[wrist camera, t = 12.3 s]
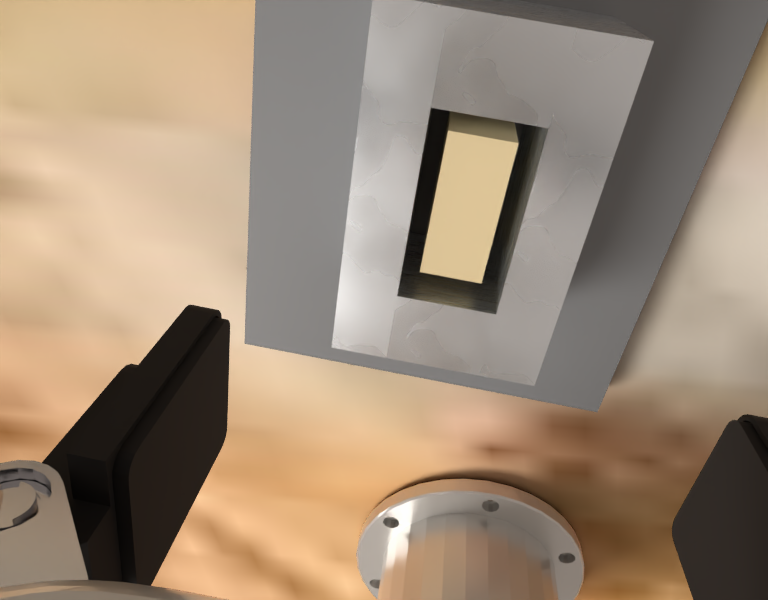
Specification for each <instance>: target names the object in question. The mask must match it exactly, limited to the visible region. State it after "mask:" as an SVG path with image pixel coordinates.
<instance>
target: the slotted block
mask: <svg viewBox="0 0 768 600" xmlns="http://www.w3.org/2000/svg"><path fill="white" fill-rule="evenodd" d="M653 43H654V41H653V40H651V39H650V38H648V37H647V36H645V35H643V34H642V33H640V32H639V31H637V30H635V29H634V28H632V27H630V26H629V25H627V24H626V23H624V22H622V21H621V20H619V19H618V18H616V17H614V16H608V15H602V14H596V13H590V12H584V11H578V10H572V9H566V8H560V7H554V6H549V5H543V4H537V3H531V2H525V1H519V0H372V9H371V17H370V26H369V34H368V43H367V51H366V59H365V68H364V76H363V85H362V93H361V102H360V110H359V119H358V127H357V136H356V144H355V153H354V161H353V169H352V178H351V186H350V195H349V203H348V212H347V220H346V229H345V237H344V246H343V254H342V263H341V271H340V279H339V288H338V296H337V305H336V313H335V322H334V330H333V339H332V347H331V348H336V349H341V350H347V351H352V352H357V353H362V354H368V355H373V356H378V357H384V358H389V359H394V360H399V361H405V362H410V363H415V364H420V365H426V366H431V367H436V368H441V369H447V370H452V371H457V372H463V373H468V374H473V375H478V376H484V377H489V378H494V379H499V380H505V381H510V382H515V383H520V384H526V385H531V386H535V383H536V380H537V377H538V374H539V371H540V369H541V366H542V363H543V360H544V357H545V354H546V351H547V348H548V346H549V343H550V340H551V337H552V334H553V331H554V328H555V325H556V322H557V320H558V317H559V314H560V311H561V308H562V305H563V302H564V299H565V297H566V294H567V291H568V288H569V285H570V282H571V279H572V276H573V274H574V271H575V268H576V265H577V262H578V259H579V256H580V253H581V250H582V248H583V245H584V242H585V239H586V236H587V233H588V230H589V227H590V225H591V222H592V219H593V216H594V213H595V210H596V207H597V204H598V201H599V199H600V196H601V193H602V190H603V187H604V184H605V181H606V178H607V176H608V173H609V170H610V167H611V164H612V161H613V158H614V155H615V152H616V150H617V147H618V144H619V141H620V138H621V135H622V132H623V129H624V127H625V124H626V121H627V118H628V115H629V112H630V109H631V106H632V104H633V101H634V98H635V95H636V92H637V89H638V86H639V83H640V80H641V78H642V75H643V72H644V69H645V66H646V63H647V60H648V57H649V55H650V52H651V49H652V46H653ZM433 108H436V109H441V110H447V111H453V112H458V113H464V114H470V115H475V116H481V117H487V118H493V119H498V120H504V121H510V122H515V123H521V124H524V126H523V130H522V134H521V137H520V141H519V145H518V149H517V153H516V157H515V160H514V164H513V168H512V172H511V176H510V180H509V184H508V187H507V191H506V195H505V199H504V203H503V207H502V210H501V214H500V218H499V222H498V226H497V230H496V233H495V237H494V241H493V245H492V246H491V250H490V253H489V257H488V261H487V265H486V268H485V272H484V276H483V280H482V284H481V283H476V282H470V281H465V280H460V279H454V278H449V277H444V276H439V275H433V274H428V273H423V272H420V267H421V261H422V255H423V249H424V242H425V236H426V234H424V233H418V232H413V231H411V227H412V222H413V216H414V210H415V205H416V199H417V194H418V188H419V183H420V177H421V172H422V166H423V160H424V155H425V149H426V144H427V138H428V133H429V127H430V122H431V116H432V110H433Z"/></svg>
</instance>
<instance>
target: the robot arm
mask: <svg viewBox="0 0 768 600" xmlns="http://www.w3.org/2000/svg"><path fill="white" fill-rule="evenodd" d="M229 343H230V323H229V321H228V320H226V319H221V313H220V311H219V310H215V309H210V308H205V307H200V306H195V305H188V306H187V307H186V308H185V309H184V310H183V311H182V313H181V314H180V315H179V316H178V318H177V319H176V320H175V321H174V322H173V324H172V325H171V326H170V327H169V329H168V330H167V331H166V332H165V333H164V335H163V336H162V337H161V338H160V340H159V341H158V342H157V343H156V344H155V346H154V347H153V348H152V349H151V350H150V352H149V353H148V354H147V355H146V357H145V358H144V359H143V360H142V361H141V363H140V364H139V365H134V364H129V365H126V366H125V367H124V368H123V369H122V370H121V371H120V372H119V373H118V374H117V375H116V377H115V378H114V379H113V380H112V381H111V382H110V384H109V385H108V386H107V387H106V388H105V389H104V391H103V392H102V393H101V394H100V395H99V397H98V398H97V399H96V400H95V401H94V402H93V404H92V405H91V406H90V407H89V408H88V409H87V411H86V412H85V413H84V414H83V415H82V416H81V418H80V419H79V420H78V421H77V422H76V423H75V425H74V426H73V427H72V428H71V429H70V431H69V432H68V433H67V434H66V435H65V436H64V438H63V439H62V440H61V441H60V442H59V443H58V445H57V446H56V447H55V448H54V449H53V450H52V452H51V453H50V454H49V455H48V456H47V457H46V459H45V460H44V461H43V462H42V463H40V462H36V461H25V460H16V461H11V462H5V463H0V600H227V599H222V598H217V597H212V596H206V595H201V594H196V593H191V592H185V591H180V590H175V589H169V588H162V587H155V586H151V584H152V582H153V580H154V579H155V577H156V575H157V573H158V571H159V569H160V567H161V565H162V563H163V561H164V559H165V557H166V555H167V553H168V551H169V549H170V547H171V545H172V543H173V542H174V540H175V538H176V536H177V534H178V532H179V530H180V528H181V526H182V524H183V522H184V520H185V518H186V516H187V514H188V512H189V510H190V508H191V506H192V505H193V503H194V501H195V499H196V497H197V495H198V493H199V491H200V489H201V487H202V485H203V483H204V481H205V479H206V477H207V475H208V473H209V471H210V469H211V468H212V466H213V464H214V462H215V460H216V458H217V456H218V454H219V452H220V450H221V448H222V446H223V443H224V440H225V437H226V432H227V413H228V378H229ZM672 537H673V541H674V544H675V547H676V550H677V553H678V556H679V559H680V561H681V564H682V567H683V570H684V573H685V576H686V579H687V582H688V585H689V588H690V591H691V594H692V597H693V600H768V418H763V417H758V416H753V415H748V414H747V415H743V416H741V417H740V418H739V419H738V420H732V421H731V422H729V423H728V425H727V426H726V428H725V430H724V431H723V433H722V435H721V437H720V439H719V440H718V442H717V444H716V446H715V447H714V449H713V451H712V453H711V455H710V456H709V458H708V460H707V462H706V463H705V465H704V467H703V469H702V471H701V472H700V474H699V476H698V478H697V480H696V481H695V483H694V485H693V487H692V488H691V490H690V492H689V494H688V496H687V497H686V499H685V501H684V503H683V505H682V506H681V508H680V510H679V512H678V513H677V515H676V517H675V519H674V522H673V526H672ZM356 556H357V565H358V570H359V572H360V575H361V577H362V580H363V582H364V583H365V585H366V586H367V588H368V589H369V591H370V592H371V593H372V594H373V595H374V596H375V597H376V598H377V600H574V599H575V598H576V597H577V595H578V594H579V592H580V589H581V586H582V583H583V580H584V561H583V555H582V550H581V545H580V543H579V540H578V538H577V536H576V533H575V531H574V530H573V528H572V527H571V526H570V524H569V523H568V522H567V521H566V519H565V518H564V517H563V516H562V515H561V514H560V513H558V512H557V511H556V510H555V509H554V508H553V507H551V506H550V505H549V504H547V503H545V502H544V501H542V500H540V499H539V498H537V497H535V496H533V495H532V494H529V493H527V492H524V491H522V490H519V489H516V488H514V487H511V486H508V485H503V484H499V483H495V482H491V481H484V480H474V479H443V480H437V481H432V482H426V483H421V484H418V485H415V486H412V487H409V488H406V489H403V490H401V491H399V492H397V493H395V494H394V495H392V496H390V497H388V498H386V499H385V500H384V501H383V502H381V503H380V504H379V505H378V506H377V507H376V508H375V509H373V510H372V512H371V513H370V515H369V516H368V517H367V519H366V520H365V522H364V524H363V527H362V530H361V532H360V535H359V541H358V548H357V553H356Z"/></svg>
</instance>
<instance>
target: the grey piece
mask: <svg viewBox="0 0 768 600" xmlns="http://www.w3.org/2000/svg"><path fill="white" fill-rule="evenodd" d="M519 1H525V2H531V3H537V4H543V5H549V6H554V7H560V8H566V9H572V10H578V11H584V12H590V13H596V14H602V15H608V16H614V17H616V18H618V19H619V20H621V21H622V22H624V23H626V24H627V25H629V26H630V27H632V28H634V29H635V30H637V31H639V32H640V33H642V34H643V35H645V36H647V37H648V38H650V39H651V40H653V41H654V43H653V46H652V49H651V52H650V55H649V57H648V60H647V63H646V66H645V69H644V72H643V75H642V78H641V80H640V83H639V86H638V89H637V92H636V95H635V98H634V101H633V104H632V106H631V109H630V112H629V115H628V118H627V121H626V124H625V127H624V129H623V132H622V135H621V138H620V141H619V144H618V147H617V150H616V152H615V155H614V158H613V161H612V164H611V167H610V170H609V173H608V176H607V178H606V181H605V184H604V187H603V190H602V193H601V196H600V199H599V201H598V204H597V207H596V210H595V213H594V216H593V219H592V222H591V225H590V227H589V230H588V233H587V236H586V239H585V242H584V245H583V248H582V250H581V253H580V256H579V259H578V262H577V265H576V268H575V271H574V274H573V276H572V279H571V282H570V285H569V288H568V291H567V294H566V297H565V299H564V302H563V305H562V308H561V311H560V314H559V317H558V320H557V322H556V325H555V328H554V331H553V334H552V337H551V340H550V343H549V346H548V348H547V351H546V354H545V357H544V360H543V363H542V366H541V369H540V371H539V374H538V377H537V380H536V383H535V386H531V385H526V384H520V383H515V382H510V381H505V380H499V379H494V378H489V377H484V376H478V375H473V374H468V373H463V372H457V371H452V370H447V369H441V368H436V367H431V366H426V365H420V364H415V363H410V362H405V361H399V360H394V359H389V358H384V357H378V356H373V355H368V354H362V353H357V352H352V351H347V350H341V349H336V348H331V347H332V339H333V330H334V322H335V313H336V305H337V296H338V288H339V279H340V271H341V263H342V254H343V246H344V237H345V229H346V220H347V212H348V203H349V195H350V186H351V178H352V169H353V161H354V153H355V144H356V136H357V127H358V119H359V110H360V102H361V93H362V85H363V76H364V68H365V59H366V51H367V43H368V34H369V26H370V17H371V9H372V0H256V4H255V35H254V67H253V98H252V130H251V161H250V193H249V224H248V256H247V287H246V318H245V344H249V345H255V346H260V347H265V348H270V349H275V350H280V351H285V352H291V353H296V354H301V355H306V356H311V357H316V358H321V359H327V360H332V361H337V362H342V363H347V364H352V365H357V366H363V367H368V368H373V369H378V370H383V371H388V372H393V373H399V374H404V375H409V376H414V377H419V378H424V379H430V380H435V381H440V382H445V383H450V384H455V385H460V386H466V387H471V388H476V389H481V390H486V391H491V392H496V393H502V394H507V395H512V396H517V397H522V398H527V399H532V400H538V401H543V402H548V403H553V404H558V405H563V406H568V407H574V408H579V409H584V410H589V411H594V412H598V409H599V407H600V405H601V402H602V400H603V398H604V395H605V393H606V391H607V389H608V386H609V384H610V382H611V379H612V377H613V375H614V372H615V370H616V368H617V366H618V363H619V361H620V359H621V356H622V354H623V352H624V350H625V347H626V345H627V343H628V340H629V338H630V336H631V333H632V331H633V329H634V327H635V324H636V322H637V320H638V317H639V315H640V313H641V310H642V308H643V306H644V304H645V301H646V299H647V297H648V294H649V292H650V290H651V287H652V285H653V283H654V281H655V278H656V276H657V274H658V271H659V269H660V267H661V265H662V262H663V260H664V258H665V255H666V253H667V251H668V248H669V246H670V244H671V242H672V239H673V237H674V235H675V232H676V230H677V228H678V225H679V223H680V221H681V219H682V216H683V214H684V212H685V209H686V207H687V205H688V202H689V200H690V198H691V196H692V193H693V191H694V189H695V186H696V184H697V182H698V179H699V177H700V175H701V173H702V170H703V168H704V166H705V163H706V161H707V159H708V157H709V154H710V152H711V150H712V147H713V145H714V143H715V140H716V138H717V136H718V134H719V131H720V129H721V127H722V124H723V122H724V120H725V117H726V115H727V113H728V111H729V108H730V106H731V104H732V101H733V99H734V97H735V94H736V92H737V90H738V88H739V85H740V83H741V81H742V78H743V76H744V74H745V71H746V69H747V67H748V65H749V62H750V60H751V58H752V55H753V53H754V51H755V49H756V46H757V44H758V42H759V39H760V37H761V35H762V32H763V30H764V28H765V26H766V23H767V21H768V0H519ZM523 126H524V124H521V123H515V122H510V121H504V120H498V119H493V118H487V117H481V116H475V115H470V114H464V113H458V112H453V111H447V110H441V109H436V108H433V110H432V116H431V122H430V127H429V133H428V138H427V144H426V149H425V155H424V160H423V166H422V172H421V177H420V183H419V188H418V194H417V199H416V205H415V210H414V216H413V222H412V227H411V231H413V232H418V233H424V234H426V236H425V242H424V249H423V255H422V261H421V267H420V272H423V273H428V274H433V275H439V276H444V277H449V278H454V279H460V280H465V281H470V282H476V283H481V284H482V280H483V276H484V272H485V268H486V265H487V261H488V257H489V253H490V250H491V246H492V245H493V241H494V237H495V233H496V230H497V226H498V222H499V218H500V214H501V210H502V207H503V203H504V199H505V195H506V191H507V187H508V184H509V180H510V176H511V172H512V168H513V164H514V160H515V157H516V153H517V149H518V145H519V141H520V137H521V134H522V130H523Z"/></svg>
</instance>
